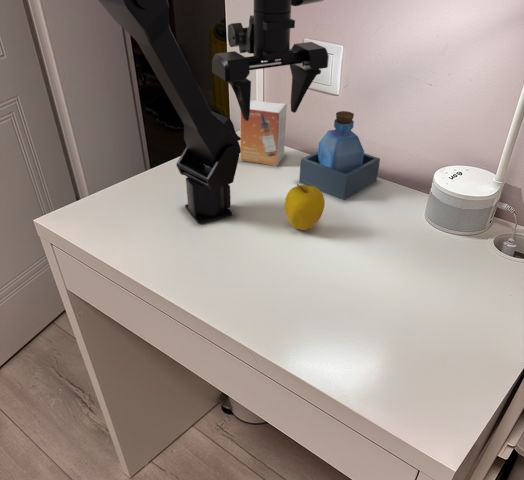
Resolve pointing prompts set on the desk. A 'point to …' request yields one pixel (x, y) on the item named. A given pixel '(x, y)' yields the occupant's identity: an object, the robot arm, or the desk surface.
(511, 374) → the desk surface
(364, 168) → the bin
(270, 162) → the small box
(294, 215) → the apple
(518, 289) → the desk surface
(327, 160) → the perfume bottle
